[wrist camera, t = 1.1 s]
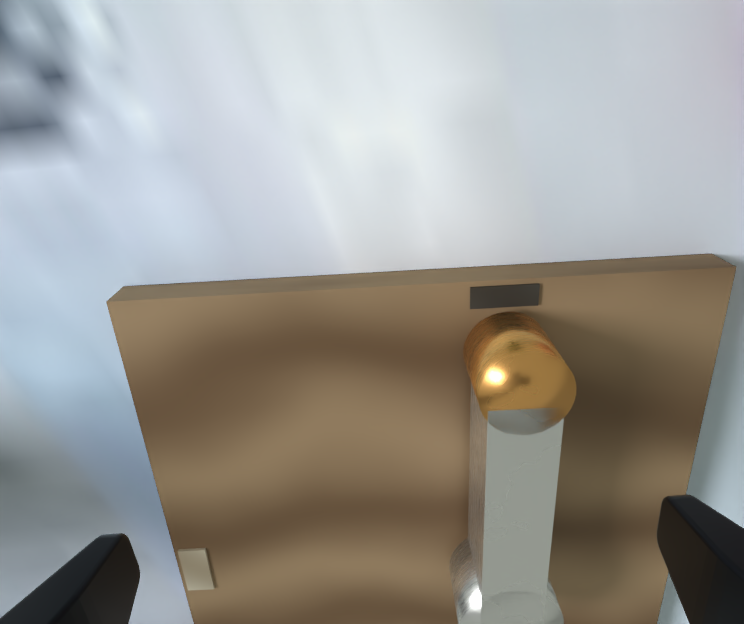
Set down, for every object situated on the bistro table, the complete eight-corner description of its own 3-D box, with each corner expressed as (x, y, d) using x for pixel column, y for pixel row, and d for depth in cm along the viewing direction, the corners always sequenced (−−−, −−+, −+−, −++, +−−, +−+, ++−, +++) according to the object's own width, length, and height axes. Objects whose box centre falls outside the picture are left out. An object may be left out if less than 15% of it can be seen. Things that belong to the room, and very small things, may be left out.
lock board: (631, 648, 29) (646, 679, 28) (221, 667, 30) (213, 699, 28) (711, 253, 20) (738, 268, 19) (123, 286, 21) (104, 303, 19)
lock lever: (537, 594, 25) (559, 659, 22) (449, 598, 25) (459, 664, 22) (564, 308, 19) (597, 348, 16) (449, 314, 19) (463, 355, 16)
